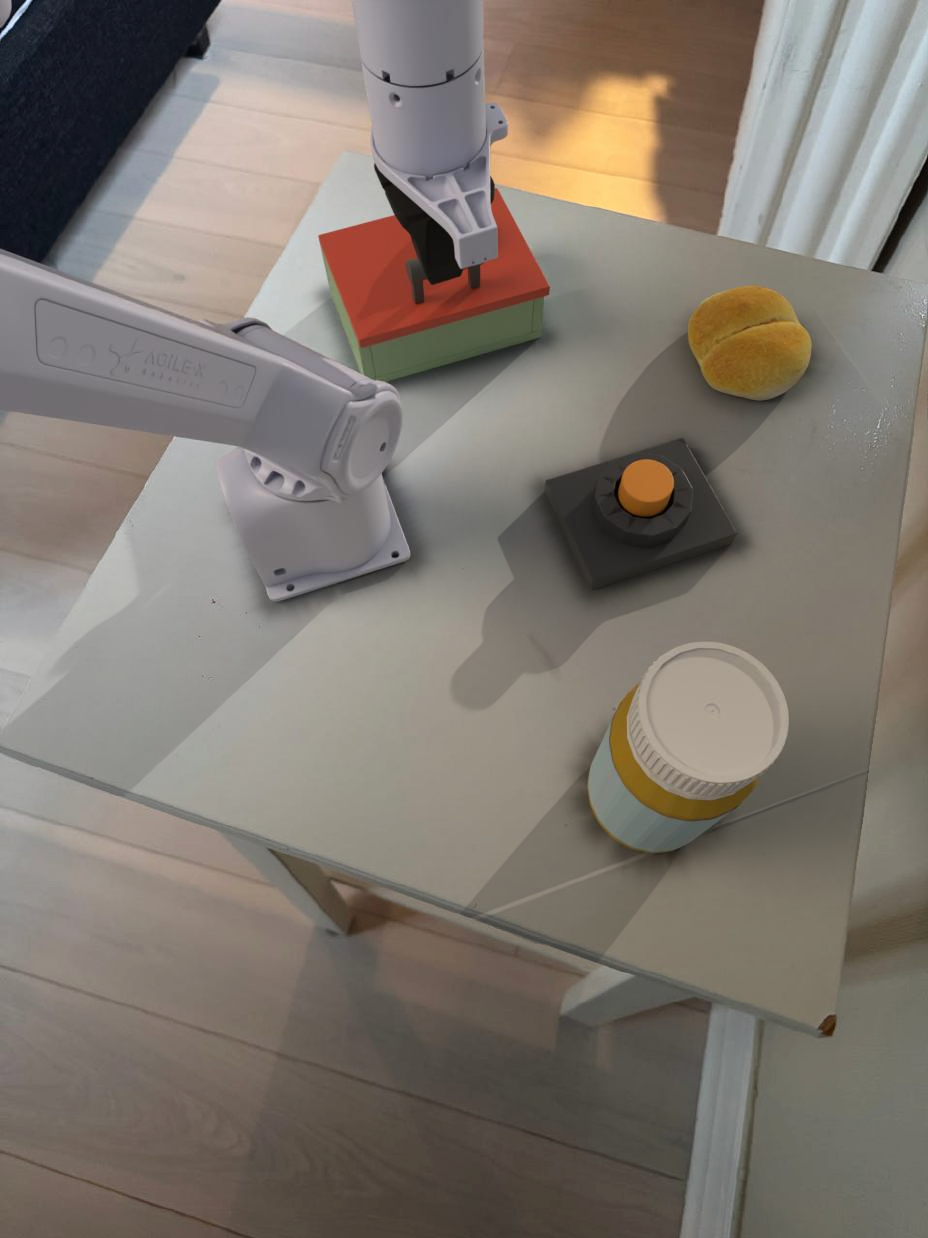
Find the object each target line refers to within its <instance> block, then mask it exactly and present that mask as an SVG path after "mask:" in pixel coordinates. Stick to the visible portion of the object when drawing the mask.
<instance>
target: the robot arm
mask: <svg viewBox="0 0 928 1238" xmlns="http://www.w3.org/2000/svg"><path fill="white" fill-rule="evenodd" d="M351 6H352V7H351V8H352V12H353V13H352V14H353V18H354V24H355V30H356V37H357V44H358V49H359V57H360V62H361V69H362V76H363V81H364V87H365V93H366V99H367V106H368V111H369V117H370V118H369V119H370V137H369V138H370V139H369V140H370V141H369V142H370V148H371V149H370V150H371V154H372V160H373V169H374V172H375V175H376V177H377V179H378V181H379V183H380V185H381V188H382V189H383V191H384V194H385V197H386V200H387V201H388V204H389V206H390V208H391V210H392V214H393V215H395V217H396V218H397V220H398V221H399V223H400V224H401V225H402V227H403V228H404V229H405V230H406V231H407V232H408V233H409V234H410V237H411V240H412V243H413V246H414V249H415V251H416V254H417V257H418V259H419V262H420V264H421V266H422V268H423V270H424V273H425V275H426V277H427V279H428V281H429V283H430V284H431V285H434V284H438V283H441V282H444V281H447V280H451V279H454V278H457V277H460V276H461V275H462V271H463V268H467V267H470V266H475V265H478V264H481V263H484V262H486V261H489V260H493V259H496V258H498V230H497V225H496V223H495V220H494V218H493V215H492V211H491V203H492V202H493V201H494V195H495V188H496V184H495V181H494V178H493V177H492V175H491V147H492V145H493V144H494V143H495V142H498V141H501V140H504V139H505V138H507V137H508V135H509V121H508V118H507V117H506V115H505V113H504V111H503V109H502V107H501V106H500V105H499V104H498V103H496V102H486V81H485V79H486V78H485V77H486V75H485V41H484V40H485V34H484V33H485V29H484V28H485V27H484V0H351ZM11 11H12V0H0V29H1V28H3V26H4V25H5V24H6V22H7V20H8V19H9V18H10V15H11V13H12V12H11ZM0 411H7V412H13V413H20V414H25V415H32V416H39V417H45V418H52V419H59V420H65V421H71V422H78V423H83V424H91V425H97V426H104V427H111V428H117V429H124V430H129V431H137V432H143V433H148V434H157V435H162V436H170V437H176V438H181V439H188V440H189V439H190V440H194V441H201V442H208V443H214V444H215V443H216V444H219V445H220V444H221V445H227V446H233V447H236V448H235V449H232V450H231V451H229V452H227V453H225V454H222V455H220V456H219V457H216V458H215V461H214V463H215V468H216V473H217V477H218V481H219V484H220V487H221V491H222V494H223V497H224V500H225V505H226V506H227V510H228V513H229V515H230V517H231V520H232V523H233V525H234V528H235V530H236V533H237V535H238V537H239V539H240V541H241V544H242V545H243V547H244V549H245V552H246V553H247V555H248V557H249V559H250V560H251V562H252V564H253V566H254V568H255V570H256V572H257V574H258V575H259V577H260V579H261V581H262V583H263V585H264V588H265V590H266V594H267V596H268V598H269V600H270V601H272V602H274V603H276V602H277V603H279V602H282V601H284V600H287V599H291V598H294V597H297V596H300V595H303V594H306V593H309V592H313V591H317V590H319V589H322V588H325V587H328V586H331V585H335V584H338V583H342V582H344V581H348V580H351V579H354V578H357V577H360V576H363V575H367V574H369V573H372V572H376V571H379V570H382V569H386V568H388V567H391V566H394V565H398V564H401V563H404V562H406V561H408V560H409V559H410V558H411V549H410V547H409V544H408V541H407V539H406V536H405V534H404V531H403V528H402V525H401V522H400V520H399V517H398V514H397V512H396V509H395V506H394V504H393V501H392V498H391V495H390V493H389V490H388V488H387V485H386V482H385V480H384V478H383V474H382V473H383V472H384V471H385V469H386V467H387V466H388V464H389V463H390V461H391V459H392V457H393V455H394V454H395V451H396V448H397V446H398V443H399V441H400V437H401V432H402V428H403V421H404V419H403V417H404V416H403V409H402V400H401V397H400V394H399V392H398V389H396V388H395V386H393V385H392V384H391V383H389V382H383V381H378V380H373V379H370V378H368V377H366V376H364V375H362V374H361V372H358V371H356V370H355V369H353V368H350V367H348V366H347V365H345V364H342V363H340V362H339V361H336V360H334V359H332V358H330V357H329V356H326V355H324V354H322V353H320V352H317V351H316V350H313V349H312V348H309V347H308V346H305V345H303V344H302V343H299V342H297V341H296V340H294V339H292V338H289V337H287V336H286V335H283V334H281V333H280V332H277V331H276V330H274V329H273V328H271V326H269V324H268V323H266V322H264V321H262V320H260V319H258V318H255V317H250V316H249V317H248V316H245V317H239V318H238V319H234V320H232V321H229V322H224V323H218V322H214V321H211V320H208V319H205V318H201V319H199V320H195V319H192V318H190V317H186V316H184V315H181V314H179V313H176V312H173V311H171V310H168V309H165V308H162V307H159V306H157V305H155V304H151V303H149V302H146V301H144V300H141V299H139V298H135V297H132V296H130V295H127V294H124V293H121V292H119V291H117V290H114V289H110V288H108V287H105V286H103V285H100V284H97V283H95V282H92V281H89V280H86V279H83V278H81V277H79V276H76V275H73V274H70V273H67V272H64V271H62V270H59V269H57V268H54V267H51V266H48V265H46V264H44V263H40V262H38V261H35V260H32V259H30V258H26V257H24V256H21V255H18V254H16V253H13V252H10V251H7V250H5V249H3V248H0ZM394 555H398V556H397V557H393V556H394ZM291 588H293V590H289V589H291Z"/></svg>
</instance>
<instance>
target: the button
mask: <svg viewBox="0 0 928 1238" xmlns="http://www.w3.org/2000/svg"><path fill="white" fill-rule="evenodd" d="M673 488H674V479H673V476H672V473H671V472H670V470H669V469H668V468H667V467H666V466H665V465H663V464H661V463H660V462H657V461H654V460H648V459H646V460H639V461H636V462H633V463H632V464H630V465H629V466H628V467H627V468H626V469H625V471H624V472H623V475H622V479H621V483H620V486H619V491H618V497H619V500H620V503H621V504H622V506H623V507H624V508H625V509H626V510H627V511H628V512H630V513H631V514H634V515H637V516H641V517H649V516H654V515H656V514H658V513H660V512H661V511H663V510H664V509H665V507H666V506H667V504H668V501H669V499H670V496H671V493H672V490H673Z"/></svg>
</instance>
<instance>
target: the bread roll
mask: <svg viewBox="0 0 928 1238" xmlns="http://www.w3.org/2000/svg"><path fill="white" fill-rule="evenodd" d="M687 324H688V325H687V340H688V344H689V347H690V350H691V352H692V354H693V356H694V357H695V359H696V361H697V363H698V365H699V367H700V371H701V374H702V376H703V378H704V380H705V381H706V383H707V384H708V386H710V387H711V388H712V389H713V390H715V391H716V392H717V391H718V392H720V393H723V394H726V395H730V396H734V397H740V398H744V399H747V400H752V401H759V402H760V401H767V400H771V399H774V398H777V397H779V396H781V395H784V393H787V392H788V391H789V390H790V389H791V388H792V387H793V386H796V384H797V383H798V382H799V380H800V379H801V378H803V375H804V374H805V372H806V371H807V368H808V366H809V364H810V360H811V355H812V346H813V344H812V338H811V336H810V334H809V332H808V330H806V329H805V328H804V327H803V326H802V324H801V322H800V321H799V319H798V316H797V314H796V312H795V310H794V309H793V307H792V304H791V303H790V302H789V301H788V300H787V299H786V298H785V297H784V296H783V295H782V294H781V293H780V292H777V291H775V290H774V289H770V288H767V287H764V286H760V285H745V286H744V285H743V286H738V287H733V288H731V289H727V290H724V291H721V292H716V293H714V294H712V295H709V296H707V297H706V298H704V299H703V300H702V301H700V304H699V305H698V307H697V308H696V309H695V310H694V312H693V313H692V315H691V316H690V318H689V320H688V323H687Z"/></svg>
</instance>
